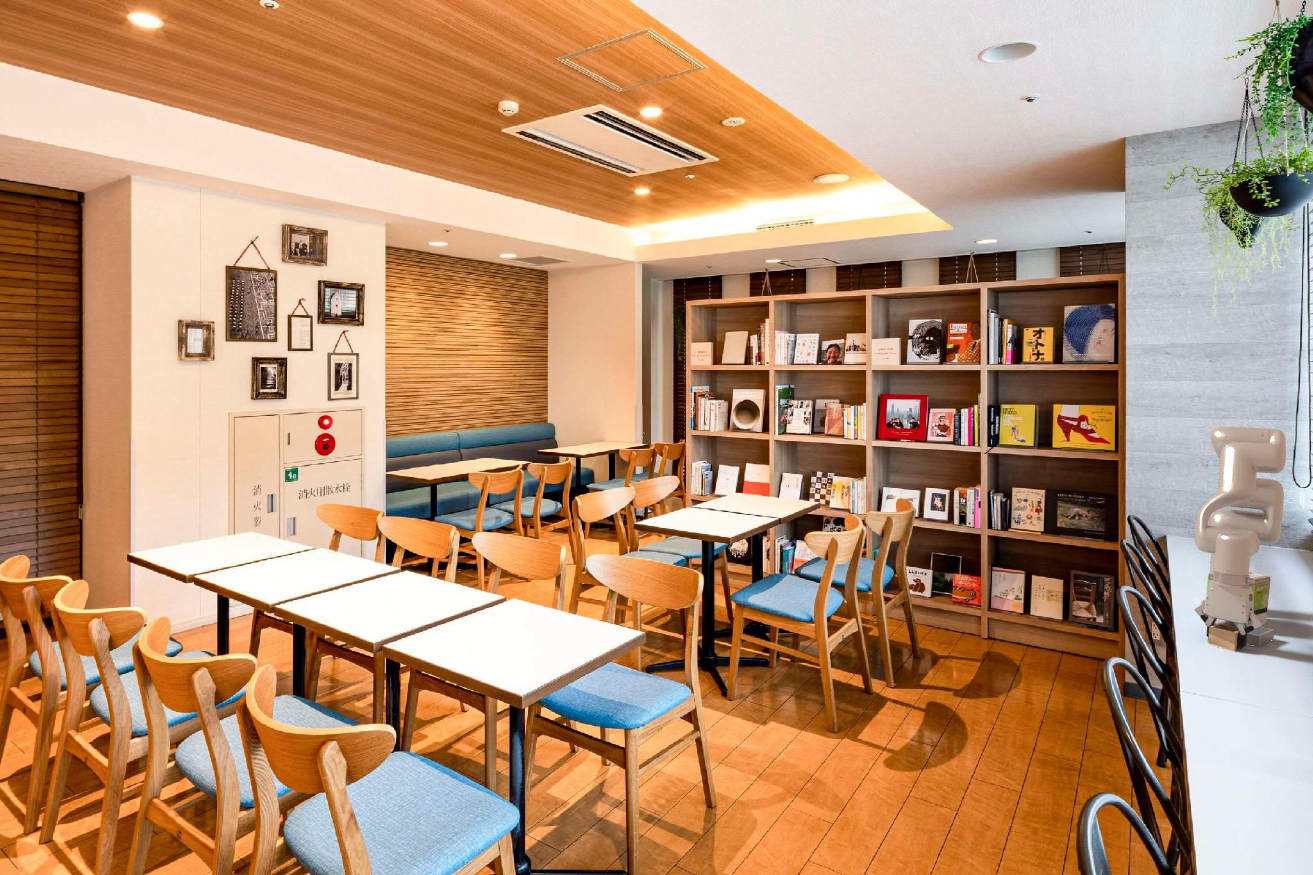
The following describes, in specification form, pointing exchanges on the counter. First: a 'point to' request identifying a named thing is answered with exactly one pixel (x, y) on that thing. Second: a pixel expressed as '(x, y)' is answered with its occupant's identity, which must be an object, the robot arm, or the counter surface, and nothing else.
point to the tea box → (1254, 595)
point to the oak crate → (1223, 636)
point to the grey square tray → (1256, 634)
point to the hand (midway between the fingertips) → (1225, 643)
